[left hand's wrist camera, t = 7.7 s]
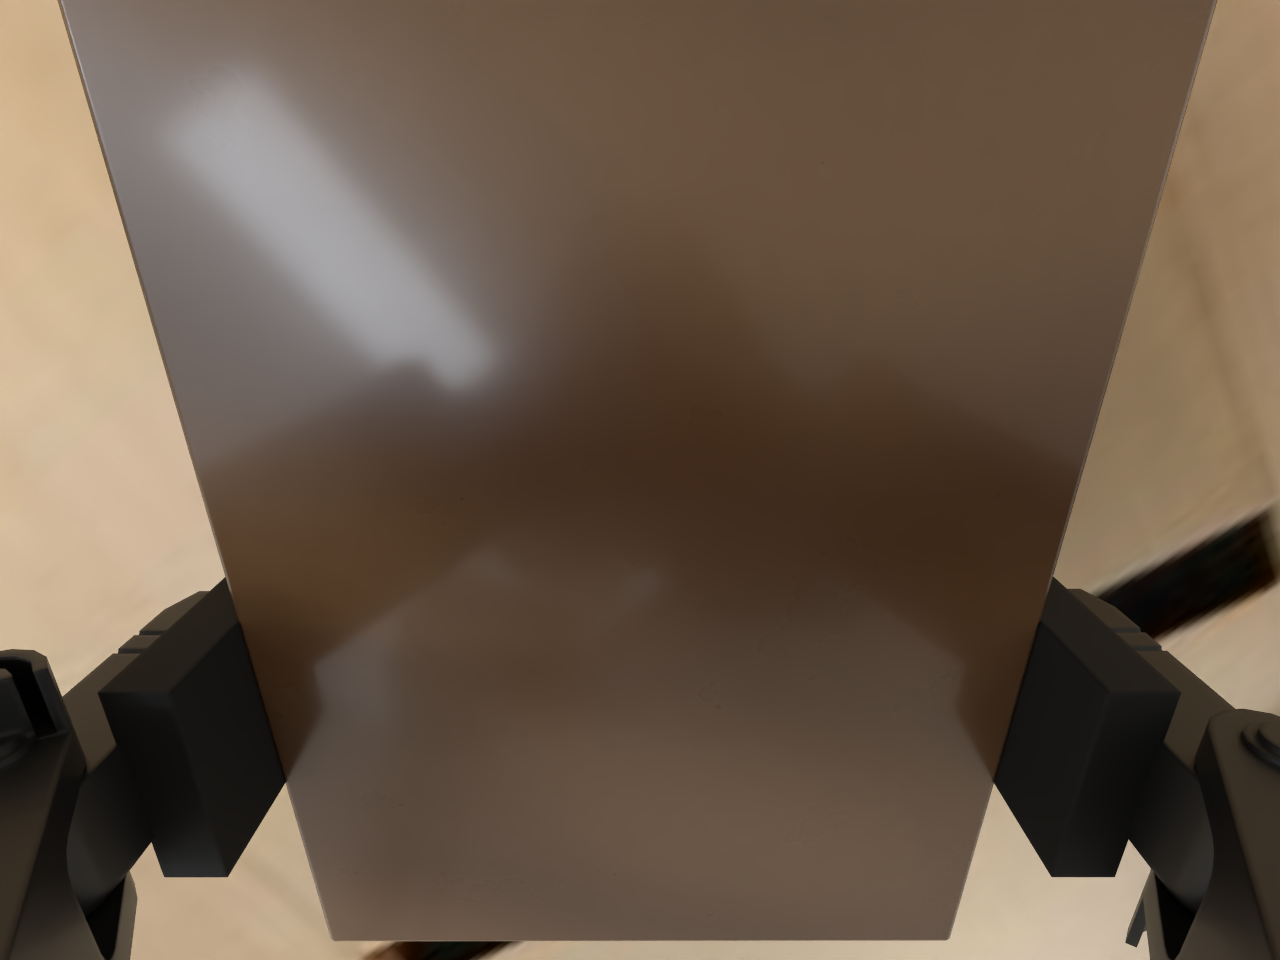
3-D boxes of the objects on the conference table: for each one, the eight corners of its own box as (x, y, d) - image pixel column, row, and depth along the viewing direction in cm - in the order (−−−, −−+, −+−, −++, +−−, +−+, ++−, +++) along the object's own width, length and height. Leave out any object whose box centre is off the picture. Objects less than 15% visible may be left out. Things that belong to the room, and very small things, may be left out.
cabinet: (359, -244, 12) (-310, -1235, 4) (917, -247, 12) (1580, -1244, 4) (466, 604, 19) (330, 943, 11) (814, 604, 19) (950, 943, 11)
